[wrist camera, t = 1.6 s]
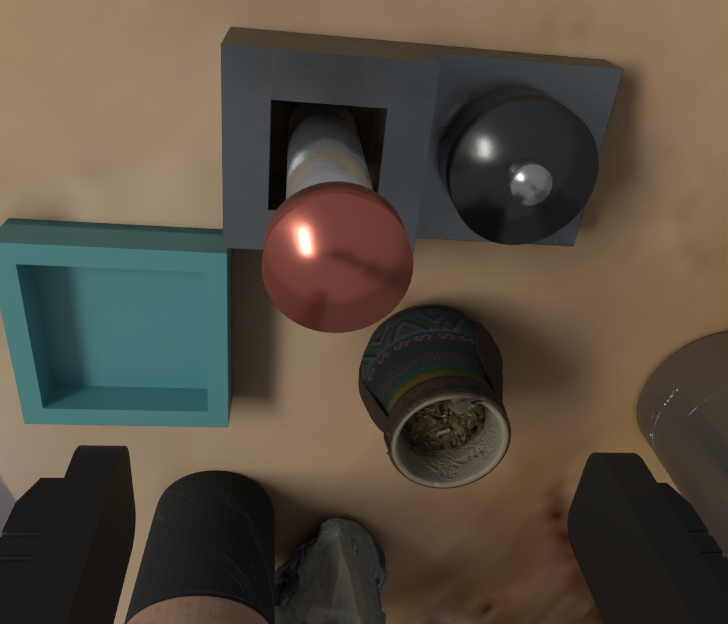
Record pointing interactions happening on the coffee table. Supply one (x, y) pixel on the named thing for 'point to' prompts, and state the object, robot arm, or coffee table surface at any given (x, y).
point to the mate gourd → (436, 395)
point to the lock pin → (333, 231)
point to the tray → (118, 323)
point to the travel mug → (208, 555)
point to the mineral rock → (333, 578)
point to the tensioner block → (424, 132)
